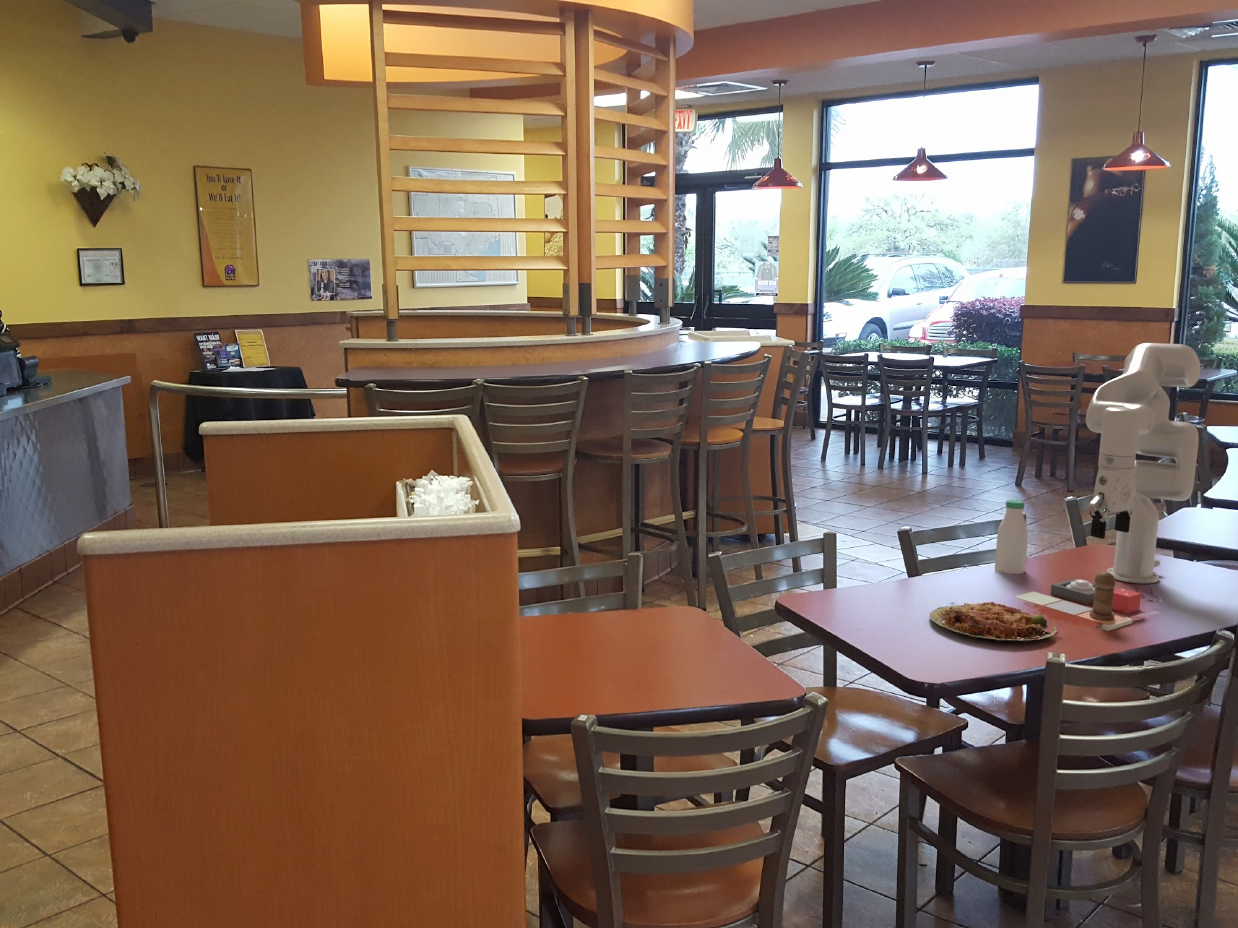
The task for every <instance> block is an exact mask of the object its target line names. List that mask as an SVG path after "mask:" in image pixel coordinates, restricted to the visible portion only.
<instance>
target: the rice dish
mask: <svg viewBox="0 0 1238 928" xmlns="http://www.w3.org/2000/svg"><path fill="white" fill-rule="evenodd" d="M929 617H930V620H931V621H933V622H934V623H935V624H938V626H941V627H943V628H946V629H948V630H951V631H953V632H954V633H958V634H961V635H965V636H968V637H972V638H979V639H989V640H994V641H999V642H1001V641H1008V642H1013V641H1015V642H1016V641H1017V642H1019V641H1021V642H1031V641H1035V640H1039V641H1040V639H1041V640H1042V639H1045V638H1050V637H1052V636H1054V635H1056V634H1057V633H1058V630H1057V626H1056V625H1055V626H1053V631H1052V632H1048V631H1045V630H1044V627H1046V626H1047V625H1048V621H1047V619H1046V618H1045V617H1044V616H1043V615H1040V614H1035V615H1031V614H1030V613H1028V612H1023V610H1021V608H1016V607H1013V606H1007V605H1005V604H1001V603H995V602H993V601H989V602H986V601H985V602H982V603H980V602H979V603H978V602H977V603H972V604H971V603H968V602H963V605H959V604H958V605H950V606H949V605H946V606H941V607H938V608H935V609H933V610H932V611H931V612H930V613H929ZM1043 632H1045V634H1044V635H1043ZM1036 636H1040V637H1041V638H1038V639H1034V638H1027V639H1020V638H1017V637H1021V638H1026V637H1036Z"/></svg>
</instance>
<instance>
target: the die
mask: <svg viewBox="0 0 1238 928" xmlns="http://www.w3.org/2000/svg"><path fill="white" fill-rule="evenodd" d="M1141 598H1142V594H1141V593H1140V592H1136V591H1132V590H1128V589H1125V588H1121V587H1120V588H1117V589H1114V594H1113V605H1112V610H1115V611H1118V612H1122V613H1126V614H1129V613H1132V612H1135V611H1139V610H1140V605H1141ZM1136 615H1139V613H1135V614H1132V615H1130V616H1128V618H1130V617H1133V616H1136Z"/></svg>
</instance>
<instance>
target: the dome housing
mask: <svg viewBox="0 0 1238 928" xmlns="http://www.w3.org/2000/svg"><path fill="white" fill-rule="evenodd" d="M1075 580H1081V579H1080V578H1075V577H1074V578H1072V579H1067V580H1064V581H1063V580H1062V581H1060V582H1056V583H1052V584H1051V585H1050V595H1053V596H1056V597H1060V598H1063V599H1067V600H1071V601H1074V602H1077V603H1081V604H1085V605H1091V604H1094V593H1095V591H1091V592H1088V593H1086V592H1082V591H1079V590H1075V589H1072V588H1068V587H1066V586H1067V585H1069V584H1070V583H1071V582H1073V581H1075ZM1088 582H1089V583H1091V584H1092V585H1093V587H1094V588H1095V586H1096V585H1095V582H1090V581H1088Z"/></svg>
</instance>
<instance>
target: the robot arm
mask: <svg viewBox="0 0 1238 928" xmlns="http://www.w3.org/2000/svg"><path fill="white" fill-rule="evenodd" d="M1123 365H1124V366H1123V367H1124V368H1123V372H1122V374H1121V375H1120V376H1118V377H1116V378H1113V379H1111V380H1109V381H1107V382H1105V383H1103V384H1102V385H1100V386H1099V387H1097V389H1096V390H1095V391H1094V393H1093V394H1092V397H1091V399H1090V402H1089V404H1088V407H1087V411H1086V414H1085V424H1086V426H1087V428H1088V429H1089V431H1091V432H1094V433H1097V434H1100V442H1099V443H1100V444H1099V455H1098V462H1097V464H1098V465H1097V467H1098V470H1097V474H1096V479H1095V485H1094V491H1093V499H1092V500H1090V502H1089V503H1088V508H1089V515H1090V520H1091V525H1090V526H1091V527H1090V536H1091V537H1093V538H1097V539H1101V540H1103V539H1106V531H1107V521H1105V520H1106V519H1107V516H1108V515H1109V513H1110V514H1115V523H1114V530H1115V531H1116V540H1115V549H1114V551H1115V553H1114V560H1113V567H1109V568H1107V570H1106V572H1108V573H1110V574H1112V575H1113V576H1114V578H1115V581H1116V580H1117V581H1121V582H1125V583H1126V582H1127V583H1131V584H1144V585H1145V584H1155V583H1157V582H1159V580H1160V576H1159V575H1158V573H1156V572H1154V569H1155V568H1157V567H1160V566H1161V561H1160V560H1159V559H1155V555H1156V547H1157V541H1158V540H1157V537H1158V530H1159V529H1158V528H1159V520H1160V519H1159V518H1160V516H1159V515H1160V514H1159V512H1158V508H1157V507H1156V506H1155V504H1154V503H1153V502H1152V500H1151V499H1158V500H1159V499H1160V500H1167V501H1177V502H1183V501H1187V500H1188V499H1190V497H1191V496H1192V494H1193V490H1194V485H1195V478H1196V477H1195V476H1196V467H1197V459H1198V450H1199V439H1200V437H1199V432H1198V428H1197V426H1195V425H1194V423H1190V422H1187V421H1186V422H1185V421H1179V420H1178V421H1175V420H1170V419H1169V416H1170V415H1169V414H1170V408H1171V401H1170V400H1171V399H1170V398H1169V396H1168V394H1167V393H1166V391H1165V390H1164V388H1162V387H1171V388H1172V387H1173V388H1191V387H1194V386H1195V385H1196V383H1198V381H1199V378H1200V375H1201V362H1200V358H1199V357H1198V354H1197V353H1196V352H1195V350H1194V349H1193V348H1192V347H1191V346H1189V345H1186V344H1181V343H1160V342H1144V343H1140V344H1137V345H1136V346H1134V348H1132V350H1131V351H1130V352H1129V354H1128V355H1127V356H1126V358H1125V360H1124V364H1123ZM1136 454H1138V455H1142V456H1150V457H1160V458H1168V459H1169V458H1170V459H1174V460H1175V462H1176V463H1171V462H1163V461H1162V462H1161V461H1157V460H1156V461H1154V460H1143V459H1136ZM1101 513H1102V514H1101Z"/></svg>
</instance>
